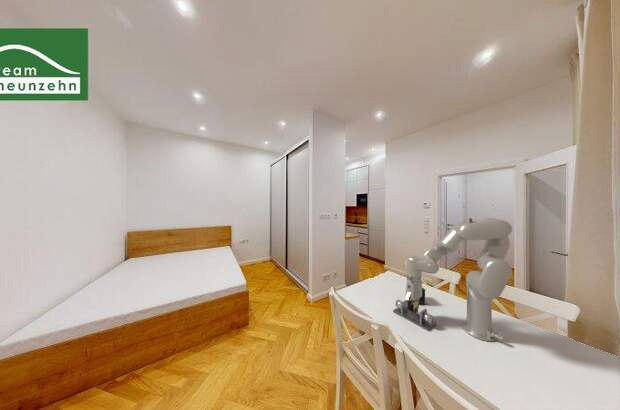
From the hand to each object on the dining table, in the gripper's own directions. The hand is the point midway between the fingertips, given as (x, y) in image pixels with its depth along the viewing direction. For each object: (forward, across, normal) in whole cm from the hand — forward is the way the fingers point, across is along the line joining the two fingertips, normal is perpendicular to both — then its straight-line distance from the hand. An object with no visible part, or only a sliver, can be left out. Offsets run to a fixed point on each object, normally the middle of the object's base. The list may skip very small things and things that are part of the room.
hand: (413, 308), depth 109 cm
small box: (+6, +21, +9) cm, 24 cm away
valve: (+1, 0, 0) cm, 1 cm away
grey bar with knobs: (+6, 0, 0) cm, 6 cm away
